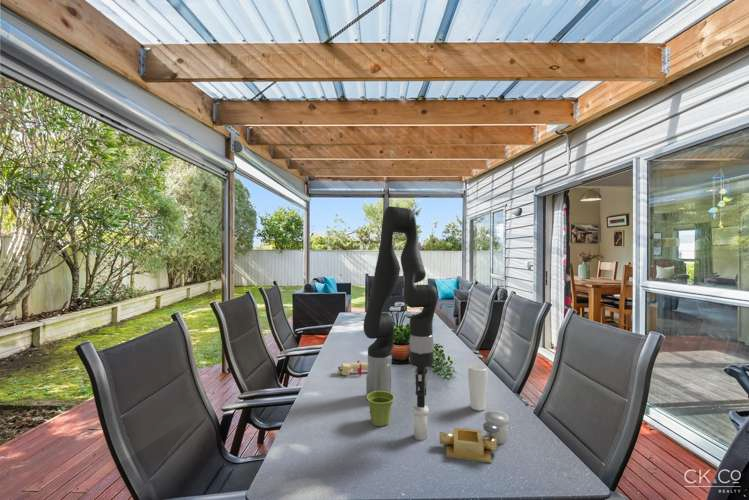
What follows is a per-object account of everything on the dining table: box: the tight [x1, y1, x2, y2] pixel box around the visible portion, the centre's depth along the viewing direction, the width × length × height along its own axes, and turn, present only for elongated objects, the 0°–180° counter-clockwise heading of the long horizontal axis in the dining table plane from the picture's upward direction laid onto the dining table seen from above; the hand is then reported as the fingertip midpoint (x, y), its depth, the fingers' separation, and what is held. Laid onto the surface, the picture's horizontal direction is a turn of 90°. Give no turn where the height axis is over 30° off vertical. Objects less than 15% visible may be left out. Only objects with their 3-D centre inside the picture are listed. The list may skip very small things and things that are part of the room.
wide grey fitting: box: [484, 410, 510, 445], centre depth 105 cm, size 7×7×7 cm
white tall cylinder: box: [467, 363, 488, 411], centre depth 125 cm, size 7×7×15 cm
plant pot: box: [366, 391, 395, 427], centre depth 115 cm, size 9×9×9 cm
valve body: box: [439, 422, 499, 464], centre depth 99 cm, size 17×10×8 cm, turn 78°
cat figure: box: [336, 360, 368, 377], centre depth 161 cm, size 10×9×25 cm
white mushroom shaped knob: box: [412, 403, 430, 441], centre depth 106 cm, size 5×5×9 cm
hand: (421, 400), depth 106 cm, fingers open, 8 cm apart
